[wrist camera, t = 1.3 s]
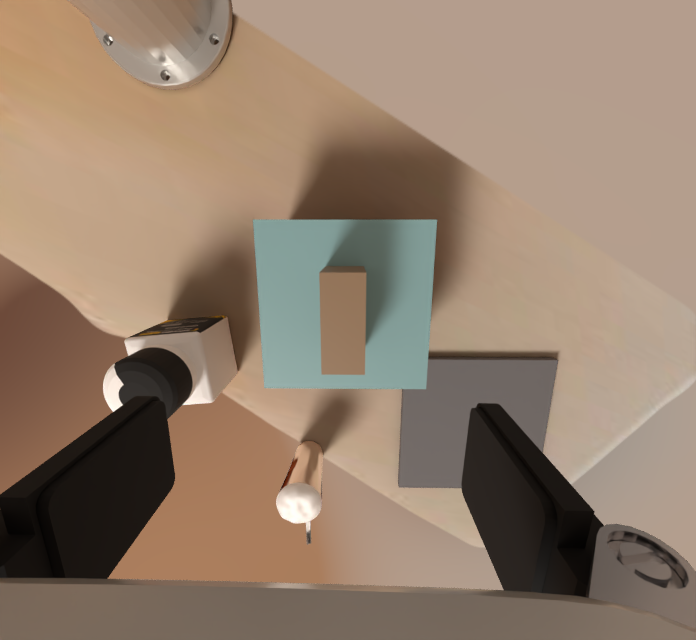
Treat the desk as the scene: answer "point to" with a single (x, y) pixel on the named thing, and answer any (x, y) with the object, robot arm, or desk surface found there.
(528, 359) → the desk mat
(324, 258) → the lid
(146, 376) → the medicine bottle
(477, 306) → the desk surface
